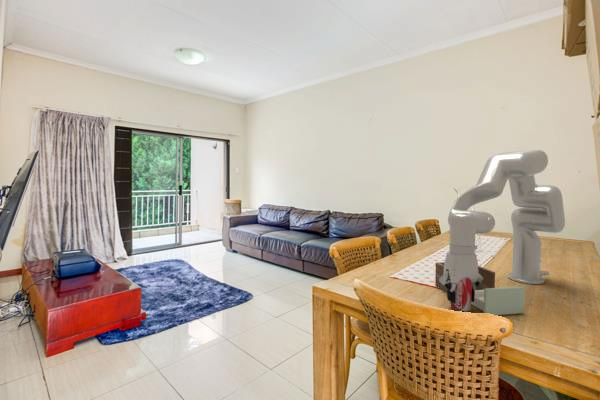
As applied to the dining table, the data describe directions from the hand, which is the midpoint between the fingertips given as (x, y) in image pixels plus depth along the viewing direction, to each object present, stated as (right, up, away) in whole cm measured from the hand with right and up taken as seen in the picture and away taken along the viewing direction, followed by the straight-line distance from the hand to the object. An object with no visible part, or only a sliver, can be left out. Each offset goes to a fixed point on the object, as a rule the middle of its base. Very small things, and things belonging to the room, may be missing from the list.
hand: (460, 300), depth 97 cm
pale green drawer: (+11, -3, +3) cm, 12 cm away
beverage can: (0, -3, 0) cm, 3 cm away
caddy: (+9, -2, +14) cm, 17 cm away
